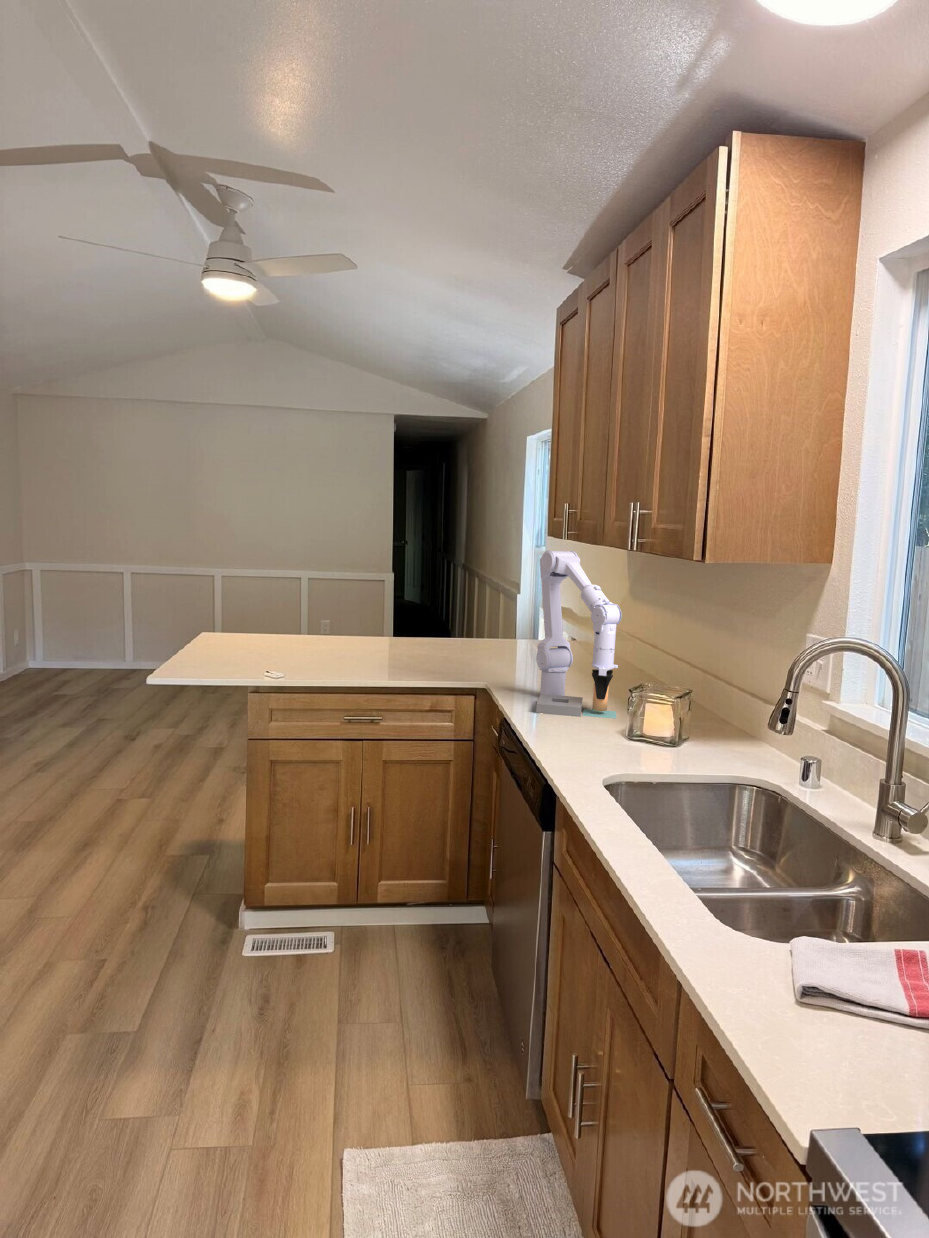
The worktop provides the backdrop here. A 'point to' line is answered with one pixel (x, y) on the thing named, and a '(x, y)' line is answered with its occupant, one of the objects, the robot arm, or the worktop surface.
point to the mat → (599, 713)
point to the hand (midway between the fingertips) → (600, 697)
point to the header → (559, 705)
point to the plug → (599, 701)
